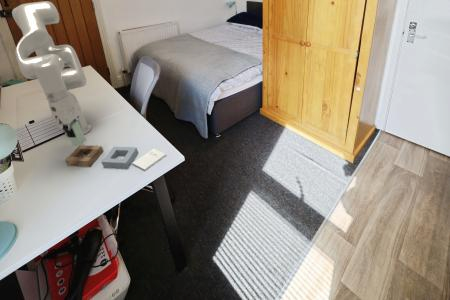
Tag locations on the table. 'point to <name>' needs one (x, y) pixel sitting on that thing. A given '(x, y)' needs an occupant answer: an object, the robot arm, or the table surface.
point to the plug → (77, 134)
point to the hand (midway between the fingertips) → (75, 133)
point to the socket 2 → (112, 162)
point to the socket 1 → (88, 161)
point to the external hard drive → (149, 159)
